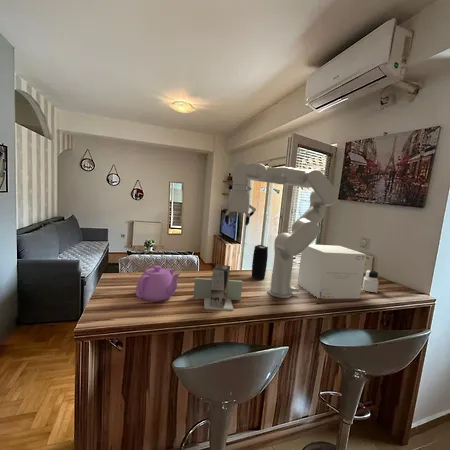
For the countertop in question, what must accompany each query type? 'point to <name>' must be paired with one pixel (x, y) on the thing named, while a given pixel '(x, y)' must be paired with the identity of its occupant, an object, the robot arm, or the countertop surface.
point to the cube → (331, 271)
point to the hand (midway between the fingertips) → (236, 224)
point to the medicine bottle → (370, 281)
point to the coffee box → (219, 286)
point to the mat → (227, 307)
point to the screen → (204, 289)
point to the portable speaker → (259, 262)
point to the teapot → (156, 284)
